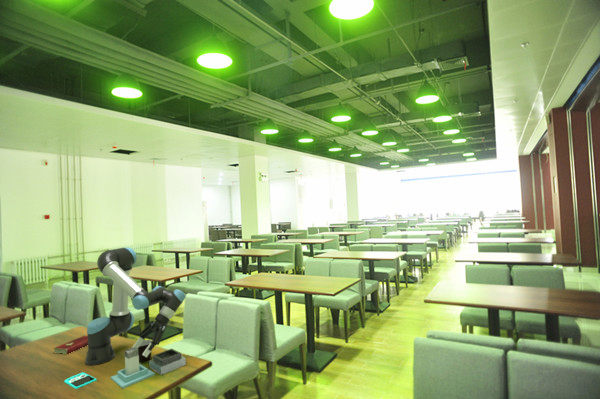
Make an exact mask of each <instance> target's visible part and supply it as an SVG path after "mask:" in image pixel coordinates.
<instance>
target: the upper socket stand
mask: <svg viewBox="0 0 600 399" xmlns="http://www.w3.org/2000/svg"><path fill="white" fill-rule="evenodd" d="M148 363H149V364H148V365H149V366H148V369H150V370H151V371H153V372H154V373H157V374H159V375H161V376H162V375H165V374H167V373H170V372H173V371H175V370H177V369H179V368H182V367H184V366H187V361H186V356H183V355H182V352H180V351H178V350H176V349H173V348H169V349H166V350H164V351H161V352H159V353H156V354H153V355H152V358H151V360H149V361H148Z"/></svg>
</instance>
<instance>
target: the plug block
mask: <svg viewBox="0 0 600 399" xmlns="http://www.w3.org/2000/svg"><path fill="white" fill-rule="evenodd" d="M124 362H125V363H124V365H125V366H124V367H125V368H124V369H126V376H129V375H132V374H134V373H137V372H139V364H140V362H139V354H138V349H136V348H135V347H134V348H132V347H131V348H128V349H126V350H124Z"/></svg>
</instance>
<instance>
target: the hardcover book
mask: <svg viewBox="0 0 600 399" xmlns="http://www.w3.org/2000/svg"><path fill="white" fill-rule="evenodd" d="M87 345H88V335H84V334H83V335H82V336H79V337H77V338H75V339H72V340H69V341H67V342H65V343H63V344H59V345H57V346H55V347H53V349H54V350H53V351H54V353H55V352H56V353H55V354H57V353H63V354H62V355H64V354H68V355H70V354H72V353H71V352H73V351H75V352H77V351H79V350H81V349H80V348H82V347H84V348H86V347H88V346H87ZM85 346H86V347H85ZM78 349H79V350H78ZM82 349H83V348H82ZM76 350H77V351H76ZM69 353H70V354H69ZM73 353H74V352H73Z"/></svg>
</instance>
